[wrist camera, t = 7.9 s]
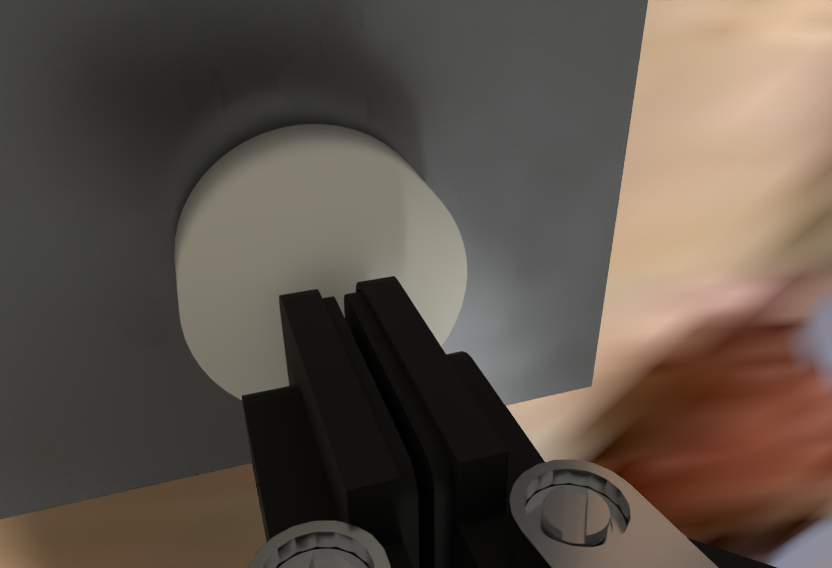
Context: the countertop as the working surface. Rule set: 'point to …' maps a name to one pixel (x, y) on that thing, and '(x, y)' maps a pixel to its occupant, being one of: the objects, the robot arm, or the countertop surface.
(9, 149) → the housing
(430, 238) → the knob
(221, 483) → the countertop surface
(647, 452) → the countertop surface
